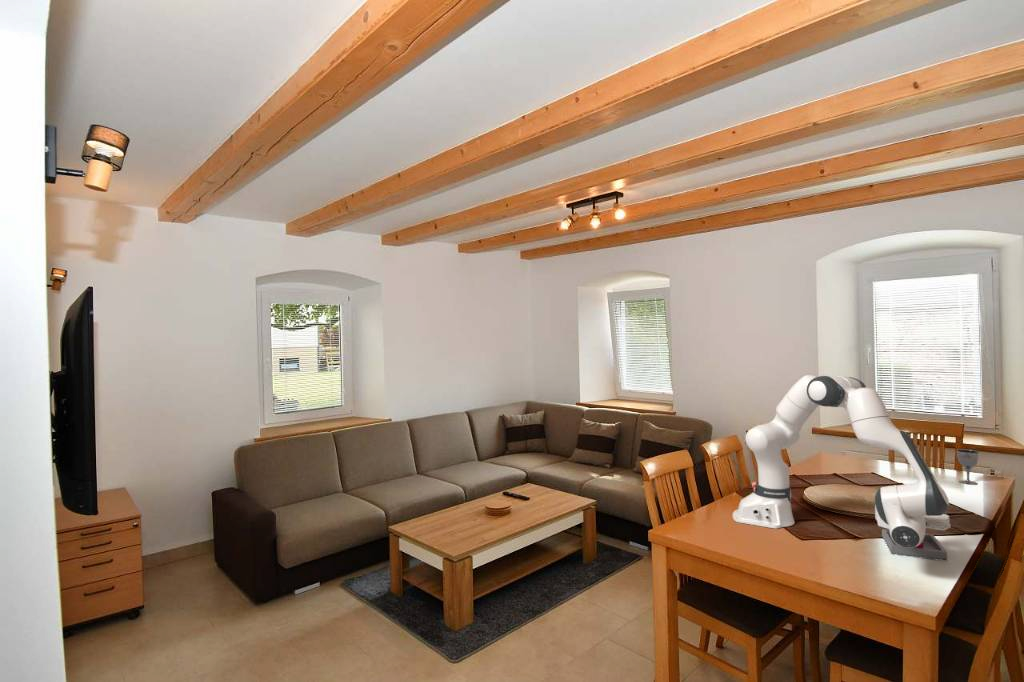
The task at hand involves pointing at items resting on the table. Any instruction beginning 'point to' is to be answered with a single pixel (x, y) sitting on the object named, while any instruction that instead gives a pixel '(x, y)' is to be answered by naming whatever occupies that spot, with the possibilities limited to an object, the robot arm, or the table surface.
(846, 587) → the table surface
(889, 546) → the tray
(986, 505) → the table surface
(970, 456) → the wine glass
